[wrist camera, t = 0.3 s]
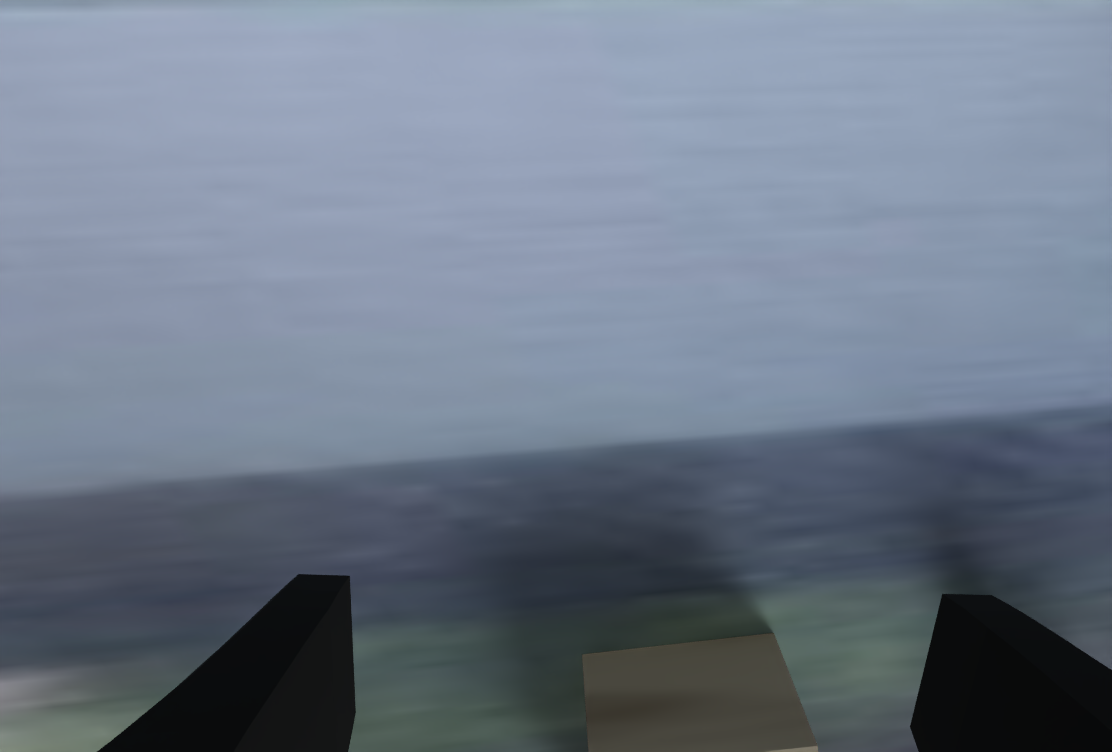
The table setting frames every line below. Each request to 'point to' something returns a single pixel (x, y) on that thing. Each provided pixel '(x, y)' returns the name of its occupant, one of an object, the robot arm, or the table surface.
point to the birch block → (695, 699)
